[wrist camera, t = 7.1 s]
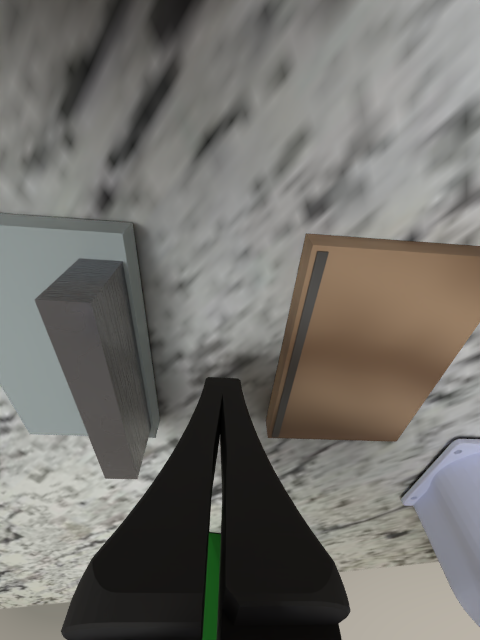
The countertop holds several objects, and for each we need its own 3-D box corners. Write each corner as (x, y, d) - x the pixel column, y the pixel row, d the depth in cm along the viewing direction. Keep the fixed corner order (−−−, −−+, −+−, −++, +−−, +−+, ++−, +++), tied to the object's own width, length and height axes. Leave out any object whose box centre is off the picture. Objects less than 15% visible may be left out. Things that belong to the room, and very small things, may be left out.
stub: (159, 419, 18) (143, 488, 14) (41, 416, 17) (-4, 486, 14) (132, 223, 11) (87, 270, 7) (-68, 208, 10) (-210, 251, 7)
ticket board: (387, 424, 19) (397, 442, 18) (265, 420, 18) (267, 439, 17) (498, 247, 12) (525, 260, 11) (306, 233, 11) (313, 245, 10)
